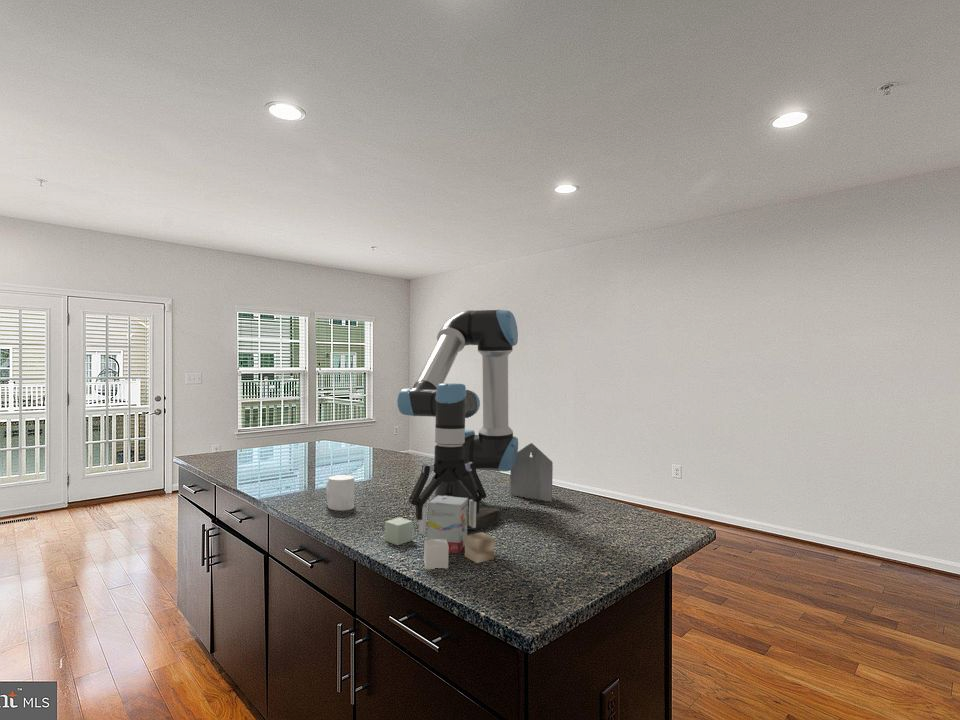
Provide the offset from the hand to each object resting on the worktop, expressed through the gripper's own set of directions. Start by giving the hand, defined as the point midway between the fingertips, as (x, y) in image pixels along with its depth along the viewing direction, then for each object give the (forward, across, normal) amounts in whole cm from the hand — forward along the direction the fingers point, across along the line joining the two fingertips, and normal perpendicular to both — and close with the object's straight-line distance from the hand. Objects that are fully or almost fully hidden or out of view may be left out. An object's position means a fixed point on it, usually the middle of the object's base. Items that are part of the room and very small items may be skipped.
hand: (447, 529), depth 127 cm
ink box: (+4, 0, 0) cm, 5 cm away
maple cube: (+4, -4, +10) cm, 11 cm away
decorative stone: (+4, -15, -13) cm, 21 cm away
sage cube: (+4, +10, -9) cm, 14 cm away
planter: (+4, -48, -36) cm, 60 cm away
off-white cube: (+4, +7, +10) cm, 13 cm away
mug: (+4, +18, -48) cm, 52 cm away
